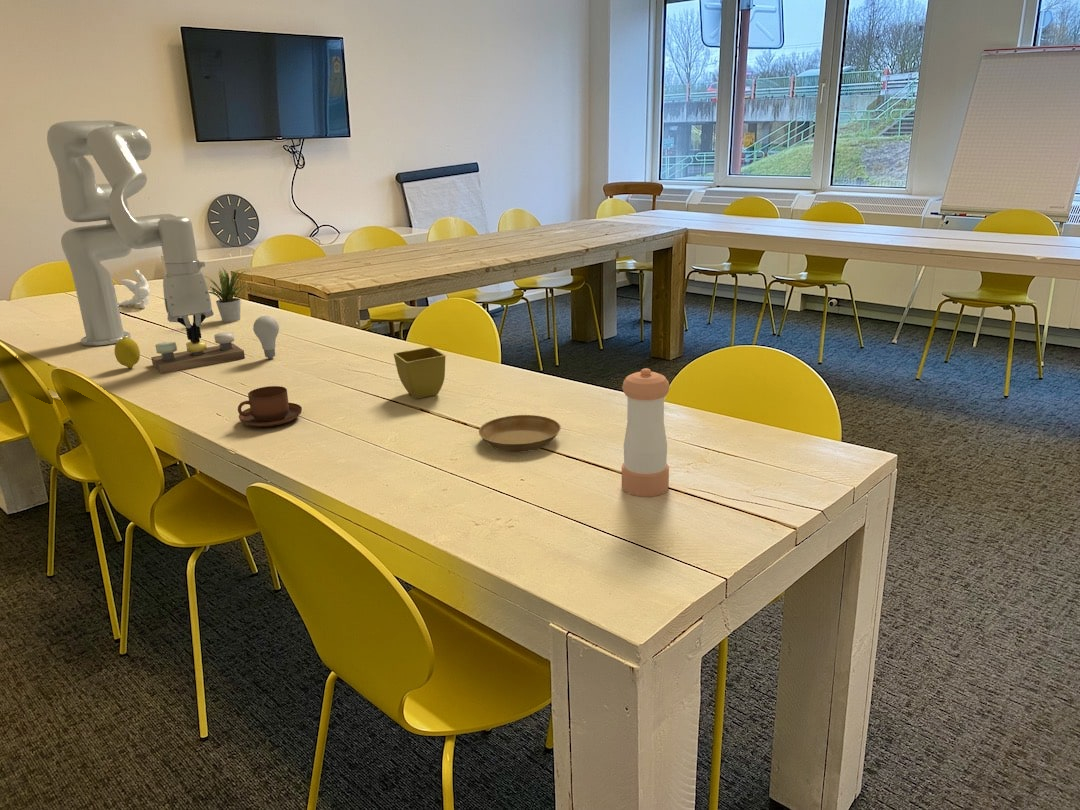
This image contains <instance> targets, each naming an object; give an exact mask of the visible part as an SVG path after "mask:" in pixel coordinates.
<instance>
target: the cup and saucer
mask: <svg viewBox="0 0 1080 810" xmlns="http://www.w3.org/2000/svg"><path fill="white" fill-rule="evenodd" d="M247 397H248V400H245V401H242V402H240V403H239V405H238V407H237V413H238V414H239V415H238V420H239V421H240V422H241V423H243V424H244V425H247V426H250V427H259V428H262V427H263V428H267V427H269V428H270V427H276V426H280V425H283V424H287V423H289V422H292V421H294V420H296V419H297V418H298V417H299V416H300V415H301V413H302V410H303V408H302V406H301V405H300V404H298V403H293V402H289V396H288V389H287V388H286V387H284V386H279V385H273V386H263V387H259V388H255V389H253V390H251V391H249V392H248V393H247ZM245 405H249V408H246V409H243V411H242V408H243V406H245Z"/></svg>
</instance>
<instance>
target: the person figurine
mask: <svg viewBox="0 0 1080 810" xmlns="http://www.w3.org/2000/svg"><path fill="white" fill-rule="evenodd" d="M133 274H134V275H135V276H136V278H138V281H135V280H131V279H121V283H122V285H123V286H124V287H126V288H127V289H128V290H129V291H130V292H132V293H133V294H134V295H133V296H132V298H131V299H129V300H128V299H125V300H124V301H122V302H118V305H119V306H118V307H123V306H124V307H130V306H134V305H136V304H137V305H138V304H139V308H144V309H145V308H146V306H147V305H148V303H149V300H150V293H151V290H150V285H149V283H148V280H147V278H146V277H145V276H144V275H143V274H142V273H141V272H140V270H139V269H135V270H134V272H133ZM121 305H123V306H121Z"/></svg>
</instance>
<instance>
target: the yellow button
mask: <svg viewBox="0 0 1080 810" xmlns="http://www.w3.org/2000/svg"><path fill="white" fill-rule="evenodd" d="M185 345H186V351H188V352H191V353H192V356H197V355H202V354H204V350H206V349H207V342H206V341H205V340H200V342H199V343H197V342H196V343H192V342H191V341H189V342H186V344H185Z"/></svg>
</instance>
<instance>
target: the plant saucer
mask: <svg viewBox="0 0 1080 810" xmlns="http://www.w3.org/2000/svg"><path fill="white" fill-rule="evenodd" d="M561 429H562V428H561V424H560V423H559V422H558V421H557V420H555V419H553V418H550V417H547V416H542V415H534V414H515V415H507V416H503V417H498V418H494V419H491V420H489V421H487V422H485V423H484V424H482V425H481V426H480V427H479V429H478V434H479V436H480V437H481V439H482V440H484V442H485V443H487V444H488V445H489V446H491V448H494V449H496V450H497V451H498V450H499V451H500V452H501V451H503V452H507V453H526V452H532V451H537V450H540V449H542V448H544V447H546V446H548V445H549V444H550V443H552V442H553V440H554V439H555V438H556V437H557V435H558V434H559V433H560V431H561Z"/></svg>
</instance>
